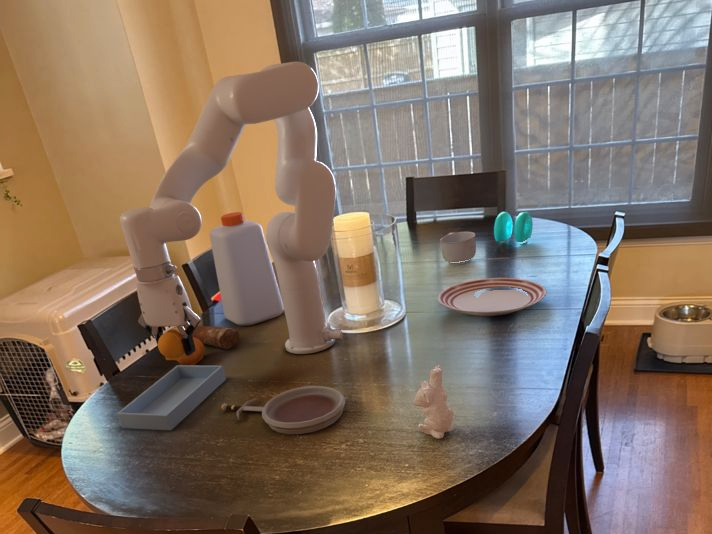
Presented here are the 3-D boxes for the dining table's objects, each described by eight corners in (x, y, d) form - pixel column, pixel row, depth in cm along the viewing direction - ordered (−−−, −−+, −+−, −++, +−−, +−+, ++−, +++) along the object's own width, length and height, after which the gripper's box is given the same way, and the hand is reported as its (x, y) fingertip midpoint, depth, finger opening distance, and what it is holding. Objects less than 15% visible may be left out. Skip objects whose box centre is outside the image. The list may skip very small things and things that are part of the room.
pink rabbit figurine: (428, 420, 126) (423, 361, 120) (462, 423, 123) (459, 363, 117) (412, 442, 120) (405, 382, 114) (447, 446, 117) (443, 384, 111)
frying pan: (239, 383, 147) (356, 384, 137) (242, 395, 149) (358, 397, 138) (198, 420, 134) (324, 425, 124) (202, 433, 136) (327, 438, 125)
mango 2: (211, 355, 171) (205, 333, 168) (193, 369, 164) (187, 347, 161) (191, 355, 173) (185, 333, 170) (173, 369, 166) (167, 347, 163)
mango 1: (199, 347, 151) (193, 322, 148) (179, 363, 144) (172, 337, 141) (178, 347, 153) (171, 322, 150) (157, 362, 146) (149, 337, 143)
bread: (225, 354, 170) (219, 333, 167) (183, 342, 182) (177, 322, 179) (244, 345, 173) (239, 324, 170) (202, 334, 185) (196, 314, 182)
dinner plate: (512, 280, 188) (512, 268, 186) (567, 306, 165) (568, 293, 163) (422, 302, 182) (421, 290, 181) (467, 333, 160) (466, 319, 158)
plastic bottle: (266, 303, 201) (245, 205, 186) (290, 313, 190) (269, 210, 175) (220, 318, 195) (195, 218, 180) (242, 329, 184) (216, 224, 169)
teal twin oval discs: (522, 248, 213) (522, 216, 207) (493, 248, 218) (492, 216, 212) (533, 240, 219) (534, 208, 214) (505, 239, 224) (504, 208, 219)
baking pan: (226, 379, 156) (222, 365, 154) (171, 430, 137) (166, 415, 136) (181, 378, 160) (177, 365, 158) (121, 428, 142) (116, 413, 140)
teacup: (478, 264, 205) (477, 237, 201) (443, 269, 206) (441, 242, 201) (472, 252, 217) (471, 227, 212) (439, 257, 217) (437, 231, 213)
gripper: (199, 265, 139) (220, 346, 149) (130, 268, 145) (155, 346, 154) (180, 276, 133) (203, 360, 143) (109, 279, 139) (136, 359, 148)
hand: (178, 352), depth 148 cm, fingers closed on mango 1, 5 cm apart
